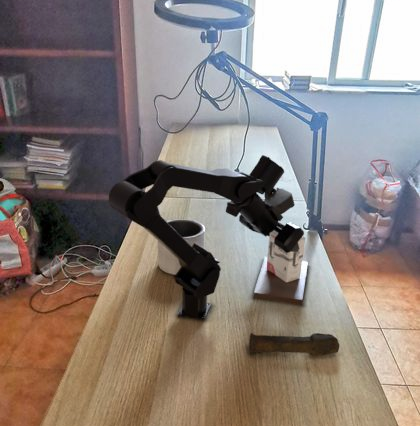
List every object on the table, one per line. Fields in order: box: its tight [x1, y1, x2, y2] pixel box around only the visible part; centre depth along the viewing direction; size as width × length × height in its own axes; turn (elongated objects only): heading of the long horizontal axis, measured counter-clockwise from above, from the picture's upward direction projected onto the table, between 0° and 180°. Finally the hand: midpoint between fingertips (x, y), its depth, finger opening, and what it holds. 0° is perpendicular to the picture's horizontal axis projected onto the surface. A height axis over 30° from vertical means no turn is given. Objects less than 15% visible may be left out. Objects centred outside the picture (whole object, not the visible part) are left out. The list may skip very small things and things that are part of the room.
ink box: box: [267, 224, 306, 282], centre depth 124 cm, size 9×5×12 cm, turn 33°
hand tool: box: [248, 332, 340, 357], centre depth 102 cm, size 19×4×5 cm, turn 87°
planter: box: [157, 218, 206, 276], centre depth 130 cm, size 12×12×11 cm
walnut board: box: [252, 255, 309, 306], centre depth 127 cm, size 20×12×2 cm, turn 167°
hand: (286, 243), depth 123 cm, fingers open, 9 cm apart
